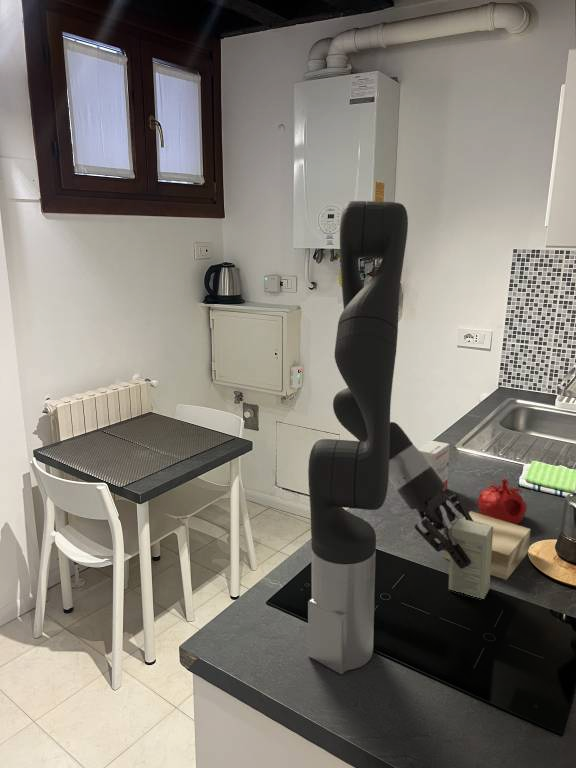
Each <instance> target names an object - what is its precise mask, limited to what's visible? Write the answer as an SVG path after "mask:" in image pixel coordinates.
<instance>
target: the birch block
mask: <svg viewBox="0 0 576 768" xmlns="http://www.w3.org/2000/svg"><path fill="white" fill-rule="evenodd" d="M468 512H469V514H470V516H471V518H472V520H473V521H474V522H478V523H483V524H487V525H491V526H493V538H492V555H491V572H490V576H494V577H496V578H499V579H501V580H504V581H507V580H508V578H509V577H511V575H512V573H514V571H515V570H516V569H517V567H518V566H519V565H520V564H521V562H522V561H523V560H524V558H525V557H526V556H527V554H528V553H529V547H530V541H531V540H530V537H531V528H529V527H525V526H522V525H519V524H516V525H515V524H512V523H509V522H505V521H502V520H499V519H495V518H492V517H489V516H485V515H482V514H481V513H480V512H479V513H478V512H475V511H471V510H469V511H468ZM463 519H465V517H464V516H463ZM465 520H466V519H465ZM444 537H445V538H446V539H447V540H448V538H447V535H445V536H444ZM443 558H444V559H446V560H449V561H450V554H449V553H448V552H447V551H444V550H443Z"/></svg>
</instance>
